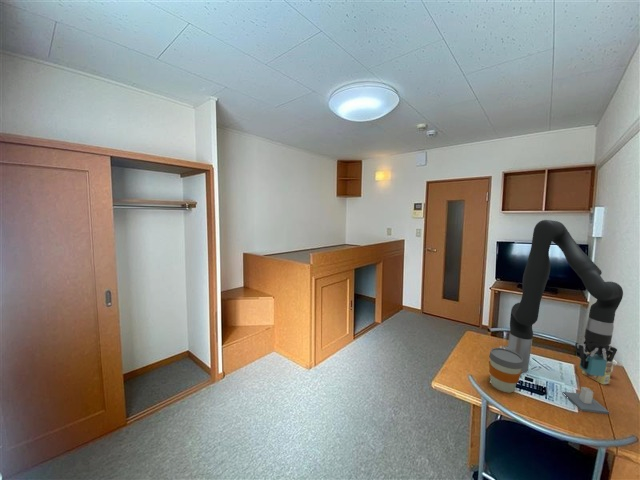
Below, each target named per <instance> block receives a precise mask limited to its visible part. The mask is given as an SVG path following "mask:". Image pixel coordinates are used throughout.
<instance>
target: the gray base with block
mask: <svg viewBox="0 0 640 480" xmlns="http://www.w3.org/2000/svg"><path fill="white" fill-rule="evenodd" d="M563 393H564V394H565V395H566V396H565V397H566V398H567V397H568V398H567V400H569V401H570V403H572V402H573V403H574V404H575V405H576V406H577V407H578V408H579V409H578V408H577V407H576V406H575V405H574V404H573V403H572V404H573V405H574V406H575V407H576V408H577V409H578V410H579V411H581V410H582V411H581V412H587V411H589V412H588V413H597V414H603V415H604V414H605V415H610V411H609V410H608V409H607V408H605V407H604V406H603V405H602V404H601V403H599V402H598V401H597V400H596V399H594V398H593V396H594V390H591V388H589V387H584V386H581V387H580V392H579V393H577V392H569V391H568V392H567V391H562V394H563Z"/></svg>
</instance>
